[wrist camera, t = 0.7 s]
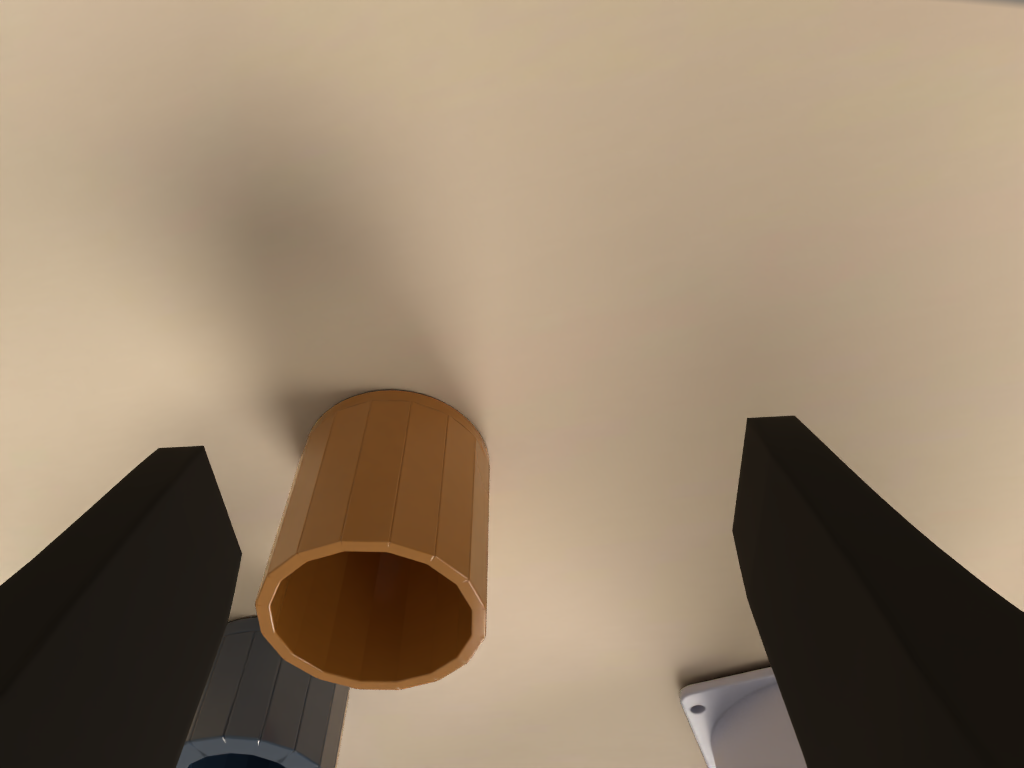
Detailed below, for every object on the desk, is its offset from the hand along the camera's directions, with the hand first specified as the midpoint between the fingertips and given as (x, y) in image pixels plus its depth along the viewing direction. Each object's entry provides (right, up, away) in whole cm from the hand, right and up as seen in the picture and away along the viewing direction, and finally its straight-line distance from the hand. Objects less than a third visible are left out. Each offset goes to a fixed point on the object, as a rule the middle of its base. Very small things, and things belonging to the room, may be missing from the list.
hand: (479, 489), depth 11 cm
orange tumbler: (-3, -1, +12) cm, 13 cm away
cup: (-9, -8, +18) cm, 22 cm away
